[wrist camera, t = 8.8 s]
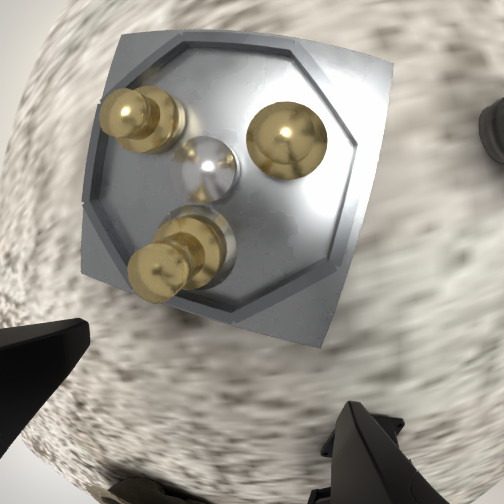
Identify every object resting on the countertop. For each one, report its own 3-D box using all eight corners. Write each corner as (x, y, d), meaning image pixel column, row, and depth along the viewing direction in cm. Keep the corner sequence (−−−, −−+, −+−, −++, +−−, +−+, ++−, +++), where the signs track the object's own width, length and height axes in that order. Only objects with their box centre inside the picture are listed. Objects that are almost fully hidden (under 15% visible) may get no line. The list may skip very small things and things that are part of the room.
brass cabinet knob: (220, 286, 19) (187, 329, 14) (161, 269, 20) (113, 302, 14) (233, 222, 18) (200, 243, 13) (170, 207, 19) (118, 221, 13)
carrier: (319, 339, 21) (322, 388, 15) (89, 269, 23) (45, 290, 17) (389, 69, 15) (416, 35, 10) (129, 39, 17) (88, 14, 12)
